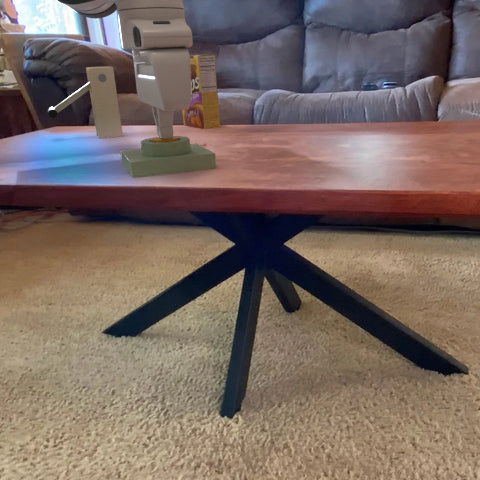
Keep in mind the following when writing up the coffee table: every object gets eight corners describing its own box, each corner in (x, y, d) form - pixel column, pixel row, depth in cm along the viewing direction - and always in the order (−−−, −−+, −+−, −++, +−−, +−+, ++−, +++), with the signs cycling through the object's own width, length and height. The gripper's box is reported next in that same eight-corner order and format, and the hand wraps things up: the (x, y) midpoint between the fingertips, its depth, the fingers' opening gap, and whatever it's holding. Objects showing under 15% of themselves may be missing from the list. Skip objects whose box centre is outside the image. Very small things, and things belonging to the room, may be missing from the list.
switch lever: (54, 121, 92) (44, 110, 91) (53, 119, 97) (44, 108, 95) (112, 79, 94) (104, 67, 92) (109, 78, 98) (101, 67, 97)
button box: (133, 178, 70) (128, 149, 69) (122, 165, 79) (118, 139, 77) (216, 168, 74) (214, 140, 73) (197, 157, 83) (195, 131, 81)
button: (155, 153, 73) (154, 141, 72) (150, 149, 77) (148, 137, 76) (182, 150, 75) (181, 138, 74) (176, 146, 78) (175, 135, 77)
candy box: (182, 131, 110) (175, 55, 104) (199, 129, 112) (193, 54, 106) (203, 136, 103) (197, 54, 97) (221, 133, 106) (216, 53, 100)
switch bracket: (85, 148, 95) (72, 68, 89) (82, 142, 101) (69, 68, 96) (140, 143, 98) (129, 66, 93) (133, 137, 105) (123, 65, 99)
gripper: (119, 38, 77) (132, 131, 83) (143, 31, 60) (157, 150, 65) (161, 36, 79) (171, 127, 85) (195, 30, 62) (205, 145, 67)
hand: (165, 137), depth 75 cm, fingers closed, pressing on button
